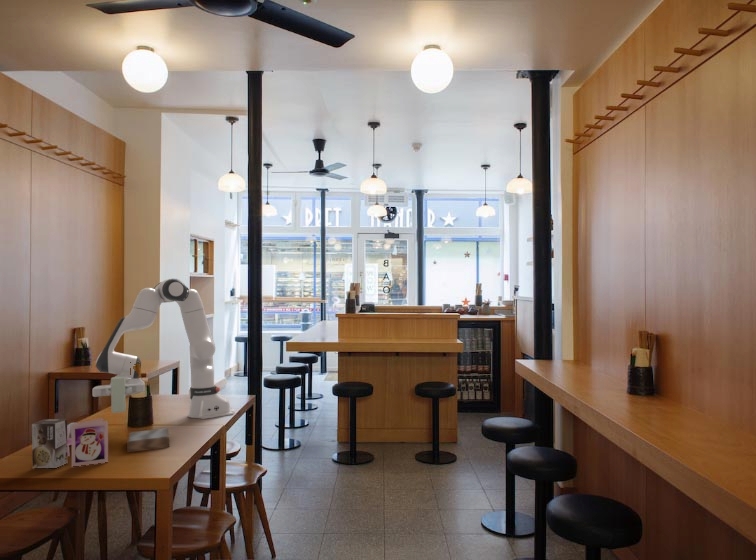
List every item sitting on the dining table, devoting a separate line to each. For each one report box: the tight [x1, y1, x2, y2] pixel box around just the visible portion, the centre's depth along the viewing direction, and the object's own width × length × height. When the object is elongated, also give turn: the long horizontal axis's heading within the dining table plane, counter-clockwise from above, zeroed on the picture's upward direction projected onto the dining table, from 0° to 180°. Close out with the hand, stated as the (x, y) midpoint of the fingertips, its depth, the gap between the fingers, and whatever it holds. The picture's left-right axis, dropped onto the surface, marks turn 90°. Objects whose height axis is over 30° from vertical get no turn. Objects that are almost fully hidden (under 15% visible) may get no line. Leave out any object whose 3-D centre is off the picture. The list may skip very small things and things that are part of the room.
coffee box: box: [31, 418, 68, 469], centre depth 182 cm, size 9×6×16 cm
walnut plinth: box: [126, 427, 170, 453], centre depth 206 cm, size 15×15×4 cm
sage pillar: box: [110, 376, 127, 414], centre depth 214 cm, size 5×5×14 cm
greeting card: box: [71, 417, 109, 468], centre depth 185 cm, size 11×7×15 cm, turn 114°
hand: (118, 392), depth 213 cm, fingers closed on sage pillar, 5 cm apart
